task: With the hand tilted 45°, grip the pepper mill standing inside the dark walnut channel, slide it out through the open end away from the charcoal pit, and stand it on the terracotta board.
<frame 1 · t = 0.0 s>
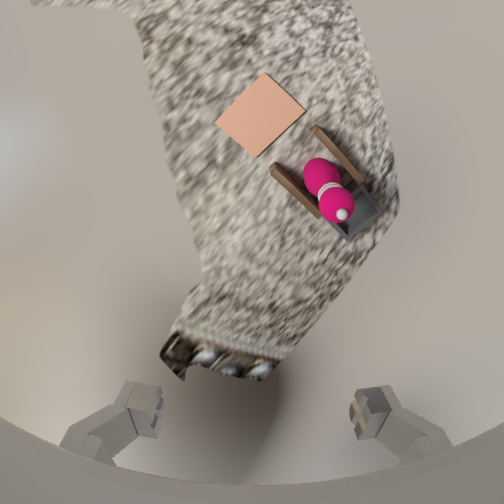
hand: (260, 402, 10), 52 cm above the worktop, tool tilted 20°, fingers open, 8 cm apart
terracotta board: (259, 115, 51), on the worktop
walnut channel: (314, 168, 57), on the worktop
pepper mill: (317, 171, 58), on the worktop
charcoal pit: (349, 205, 62), on the worktop
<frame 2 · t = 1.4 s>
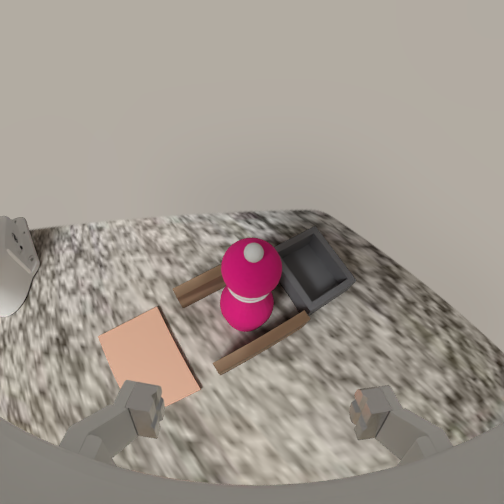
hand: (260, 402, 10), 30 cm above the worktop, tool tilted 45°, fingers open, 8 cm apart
terracotta board: (146, 363, 38), on the worktop
walnut channel: (239, 314, 42), on the worktop
pepper mill: (245, 311, 43), on the worktop
charcoal pit: (307, 276, 46), on the worktop
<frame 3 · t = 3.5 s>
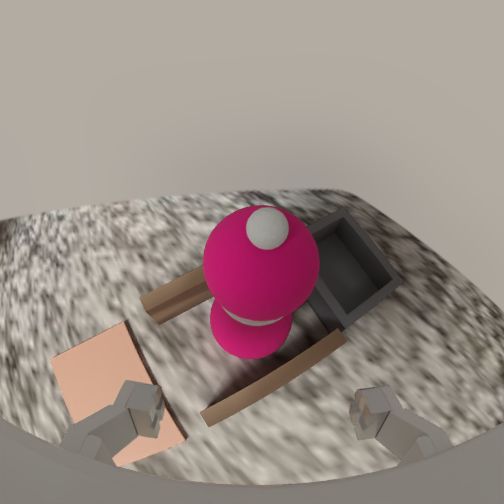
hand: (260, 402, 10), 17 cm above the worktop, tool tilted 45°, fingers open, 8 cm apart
terracotta board: (110, 400, 24), on the worktop
walnut channel: (240, 334, 29), on the worktop
pepper mill: (248, 329, 29), on the worktop
charcoal pit: (334, 276, 32), on the worktop
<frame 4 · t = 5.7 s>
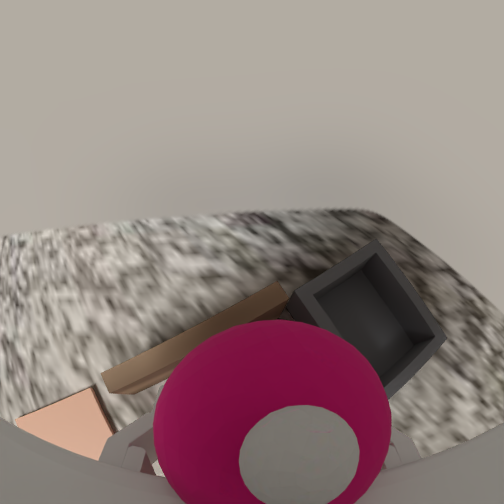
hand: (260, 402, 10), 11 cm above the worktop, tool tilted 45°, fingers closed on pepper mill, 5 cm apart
terracotta board: (83, 474, 15), on the worktop
walnut channel: (238, 410, 20), on the worktop
pepper mill: (248, 404, 20), on the worktop, touching gripper
charcoal pit: (360, 330, 23), on the worktop
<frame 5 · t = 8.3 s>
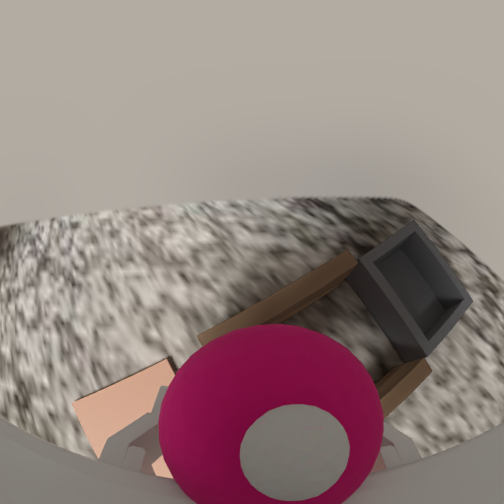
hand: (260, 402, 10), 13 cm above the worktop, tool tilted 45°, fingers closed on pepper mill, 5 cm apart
terracotta board: (153, 451, 19), on the worktop
walnut channel: (311, 368, 23), on the worktop
pepper mill: (248, 404, 21), point 1 cm above the worktop, touching gripper
charcoal pit: (403, 296, 27), on the worktop
when the fingers open (13 cm above the worktop, at t = 10.7 s): pepper mill stays where it is, resting on terracotta board.
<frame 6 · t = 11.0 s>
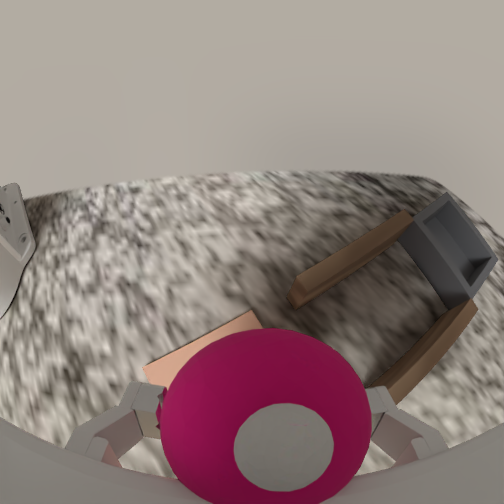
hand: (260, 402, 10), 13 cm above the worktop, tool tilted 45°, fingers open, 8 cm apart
terracotta board: (238, 409, 21), on the worktop
walnut channel: (379, 313, 26), on the worktop
pepper mill: (247, 404, 21), resting on terracotta board
charcoal pit: (442, 256, 29), on the worktop
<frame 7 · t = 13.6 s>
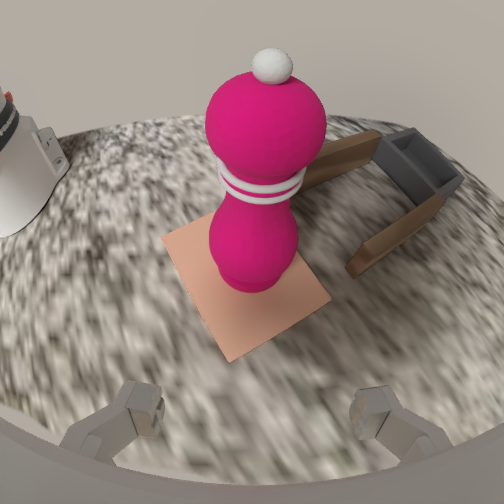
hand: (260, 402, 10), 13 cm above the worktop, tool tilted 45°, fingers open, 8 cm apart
terracotta board: (242, 269, 27), on the worktop
walnut channel: (360, 206, 32), on the worktop
pepper mill: (250, 263, 27), resting on terracotta board
charcoal pit: (414, 176, 35), on the worktop
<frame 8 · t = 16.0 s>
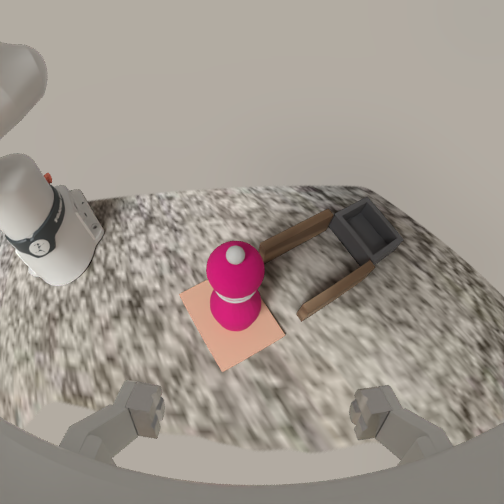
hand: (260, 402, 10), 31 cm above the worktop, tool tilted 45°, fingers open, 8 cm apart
terracotta board: (230, 316, 44), on the worktop
walnut channel: (312, 268, 48), on the worktop
pepper mill: (235, 312, 44), resting on terracotta board
charcoal pit: (362, 238, 52), on the worktop
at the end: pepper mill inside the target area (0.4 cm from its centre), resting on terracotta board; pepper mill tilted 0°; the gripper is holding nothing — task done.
